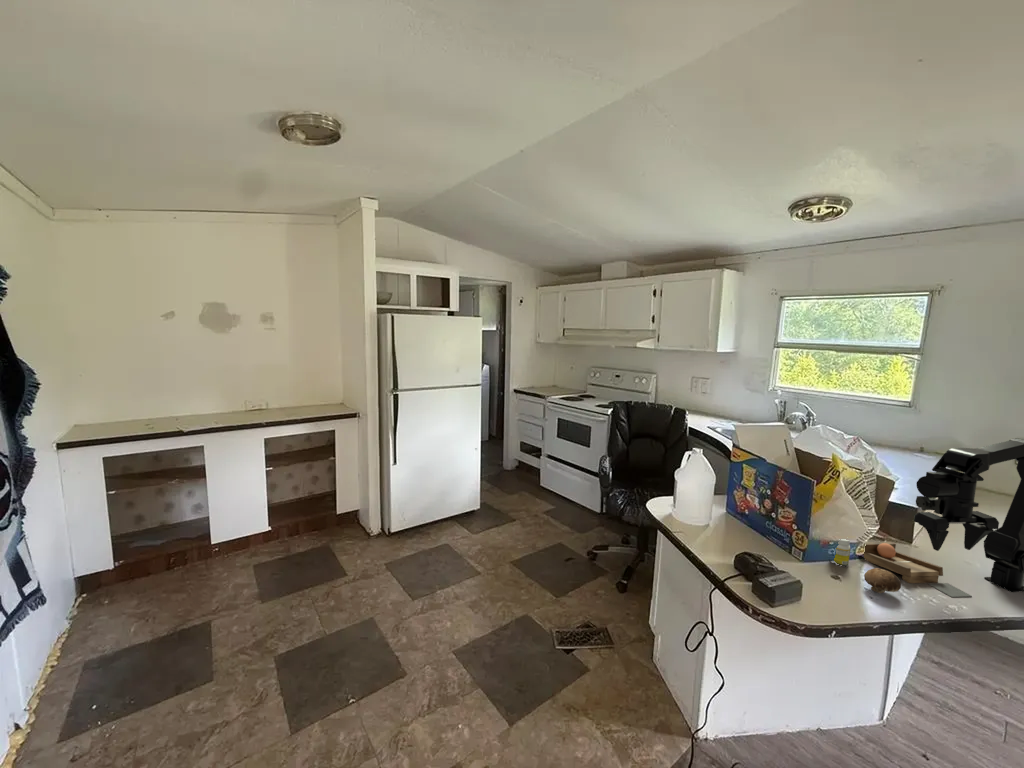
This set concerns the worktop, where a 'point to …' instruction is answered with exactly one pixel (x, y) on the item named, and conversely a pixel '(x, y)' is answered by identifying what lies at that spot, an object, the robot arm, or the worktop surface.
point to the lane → (904, 565)
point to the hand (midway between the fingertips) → (951, 549)
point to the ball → (886, 550)
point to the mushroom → (882, 580)
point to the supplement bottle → (842, 552)
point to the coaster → (949, 590)
